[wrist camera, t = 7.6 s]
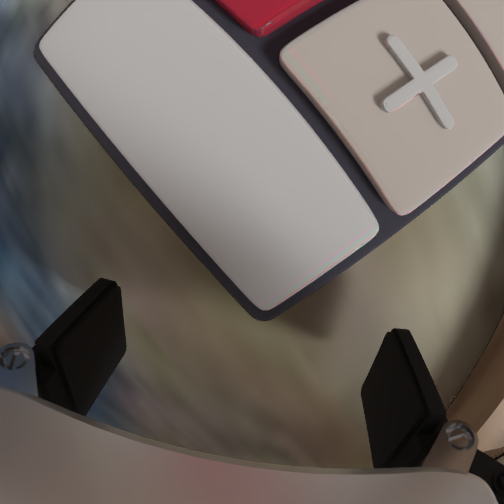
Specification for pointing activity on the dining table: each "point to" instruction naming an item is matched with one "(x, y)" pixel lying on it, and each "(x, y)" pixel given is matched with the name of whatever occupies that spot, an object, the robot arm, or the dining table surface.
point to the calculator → (284, 121)
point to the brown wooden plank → (484, 395)
